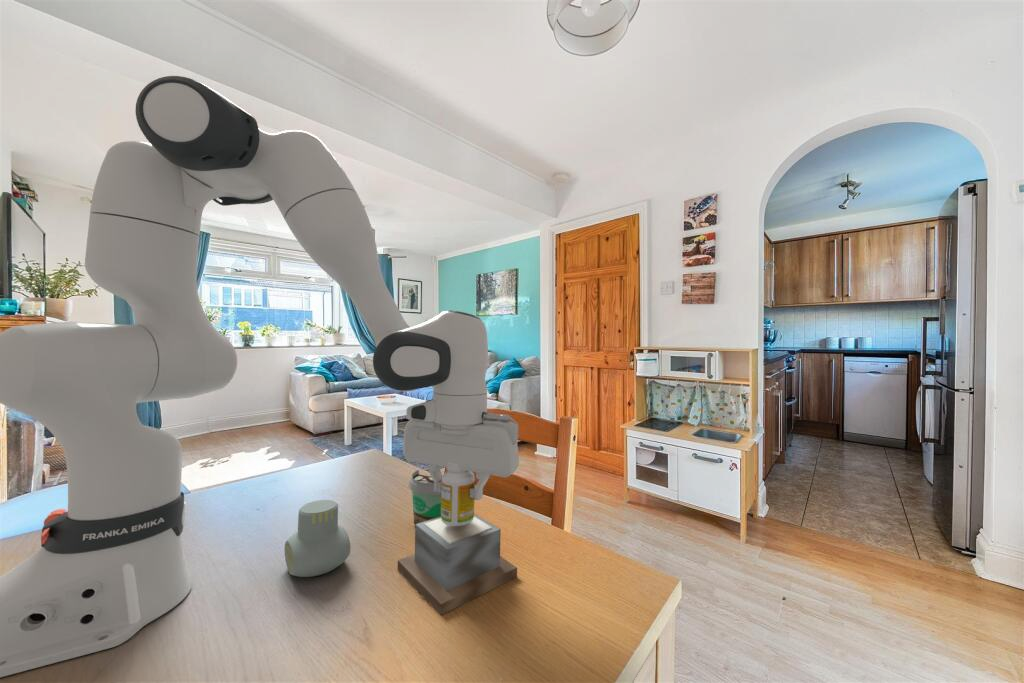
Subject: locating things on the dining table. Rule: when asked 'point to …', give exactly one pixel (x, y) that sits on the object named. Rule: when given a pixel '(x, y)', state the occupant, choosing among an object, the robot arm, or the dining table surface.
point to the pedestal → (456, 562)
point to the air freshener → (317, 541)
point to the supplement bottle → (457, 496)
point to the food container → (424, 498)
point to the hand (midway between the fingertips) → (457, 494)
